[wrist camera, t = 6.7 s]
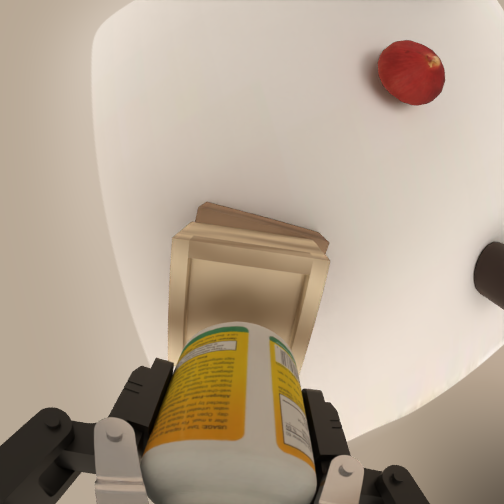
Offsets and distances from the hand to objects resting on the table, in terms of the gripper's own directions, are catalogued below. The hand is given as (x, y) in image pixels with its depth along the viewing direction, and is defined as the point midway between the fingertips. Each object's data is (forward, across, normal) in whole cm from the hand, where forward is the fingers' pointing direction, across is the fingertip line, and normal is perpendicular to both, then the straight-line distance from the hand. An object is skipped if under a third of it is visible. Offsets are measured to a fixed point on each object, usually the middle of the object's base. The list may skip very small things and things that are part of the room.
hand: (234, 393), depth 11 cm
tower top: (+12, 0, 0) cm, 12 cm away
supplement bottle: (+2, 0, 0) cm, 2 cm away
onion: (+15, -9, -21) cm, 28 cm away
